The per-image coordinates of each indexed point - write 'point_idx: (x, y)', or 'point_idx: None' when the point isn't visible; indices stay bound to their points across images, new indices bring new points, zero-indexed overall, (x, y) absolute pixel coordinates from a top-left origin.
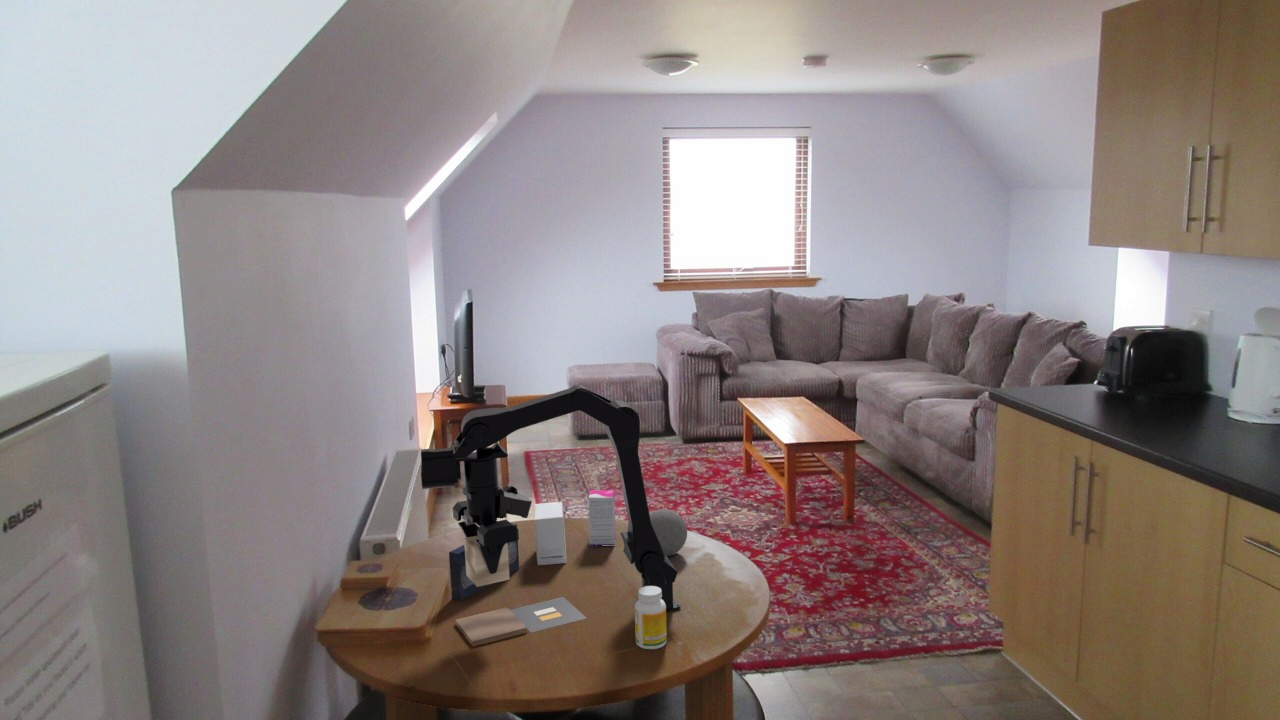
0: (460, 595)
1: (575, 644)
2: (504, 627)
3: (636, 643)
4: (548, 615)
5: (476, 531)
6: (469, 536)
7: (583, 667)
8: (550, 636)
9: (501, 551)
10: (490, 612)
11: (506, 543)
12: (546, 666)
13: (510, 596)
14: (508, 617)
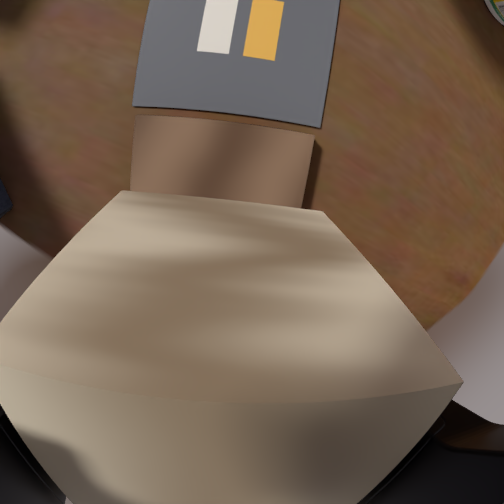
0: (4, 211)
1: (437, 87)
2: (267, 187)
3: (500, 21)
4: (253, 27)
5: (26, 500)
6: (58, 500)
7: (500, 147)
8: (369, 99)
9: (452, 401)
10: (139, 176)
11: (445, 376)
12: (460, 196)
13: (50, 71)
14: (210, 145)
